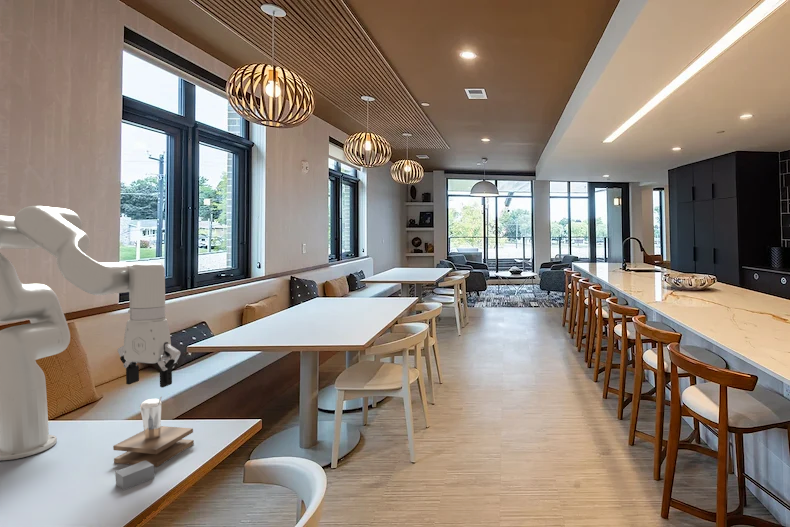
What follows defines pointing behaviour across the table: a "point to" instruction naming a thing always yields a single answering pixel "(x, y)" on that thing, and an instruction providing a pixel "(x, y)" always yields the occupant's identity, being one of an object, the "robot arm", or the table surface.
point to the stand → (154, 446)
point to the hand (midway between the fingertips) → (149, 384)
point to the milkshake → (151, 417)
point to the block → (134, 474)
